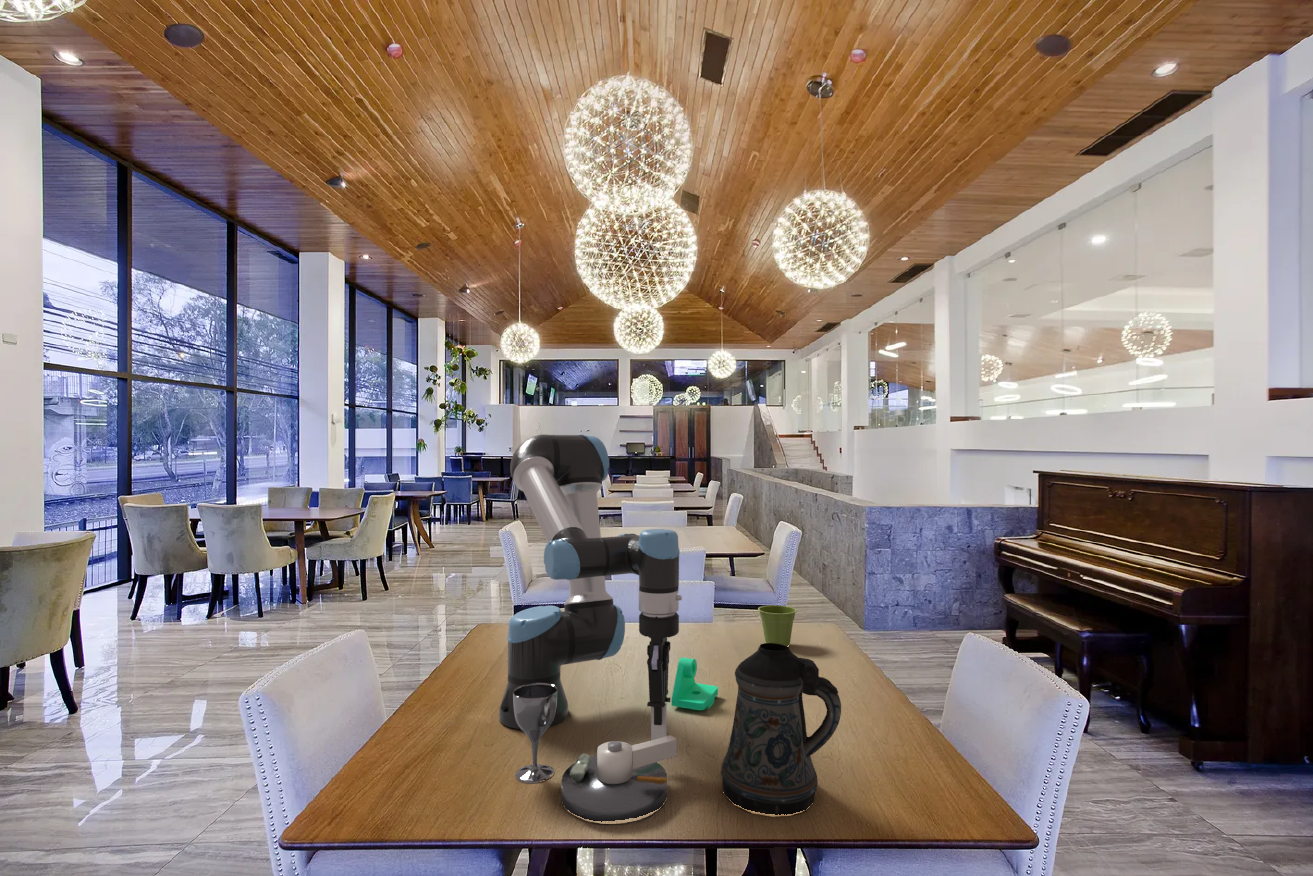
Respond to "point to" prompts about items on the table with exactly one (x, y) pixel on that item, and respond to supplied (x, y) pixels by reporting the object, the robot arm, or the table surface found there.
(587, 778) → the base
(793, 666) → the beer stein
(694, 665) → the camera mount
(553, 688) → the wine glass
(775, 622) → the plant pot
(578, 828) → the table surface
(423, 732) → the table surface
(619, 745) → the knob
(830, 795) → the table surface
